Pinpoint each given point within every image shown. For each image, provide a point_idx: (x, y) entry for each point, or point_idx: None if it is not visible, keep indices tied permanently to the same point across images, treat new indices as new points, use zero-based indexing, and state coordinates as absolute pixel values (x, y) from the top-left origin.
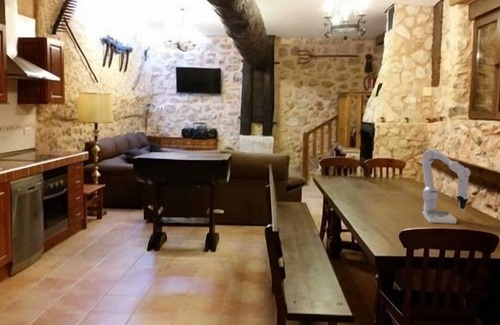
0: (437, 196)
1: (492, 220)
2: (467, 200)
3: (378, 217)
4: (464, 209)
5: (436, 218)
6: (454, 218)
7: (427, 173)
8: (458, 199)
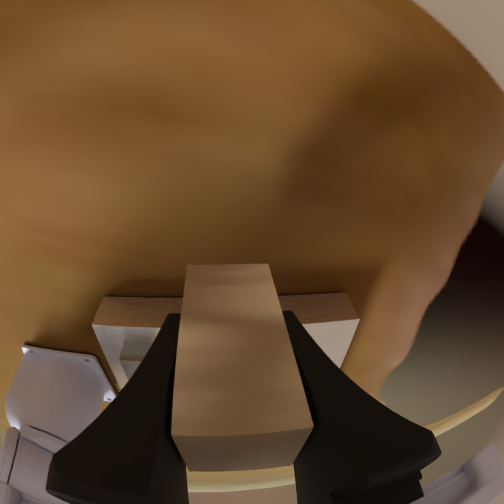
0: (17, 457)
1: None
2: (413, 425)
3: (229, 473)
4: (274, 295)
5: None
6: (340, 330)
7: None
8: (185, 479)
